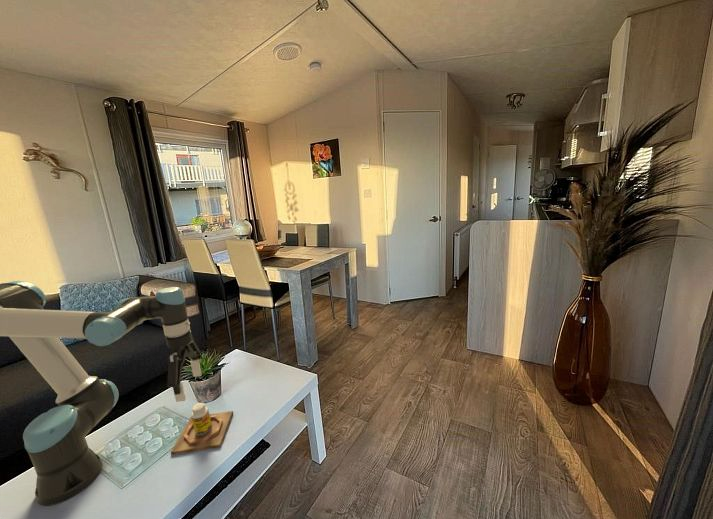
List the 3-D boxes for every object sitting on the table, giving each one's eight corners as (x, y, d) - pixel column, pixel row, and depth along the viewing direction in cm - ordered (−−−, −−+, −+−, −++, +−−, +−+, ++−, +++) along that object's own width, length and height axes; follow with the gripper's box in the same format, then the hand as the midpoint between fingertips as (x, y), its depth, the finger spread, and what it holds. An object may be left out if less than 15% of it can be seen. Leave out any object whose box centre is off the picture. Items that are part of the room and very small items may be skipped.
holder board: (171, 455, 100) (169, 449, 99) (191, 419, 115) (189, 415, 115) (220, 447, 102) (219, 442, 101) (233, 413, 117) (232, 408, 117)
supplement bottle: (196, 438, 104) (190, 414, 102) (194, 429, 109) (188, 405, 107) (213, 431, 107) (207, 407, 105) (211, 421, 112) (205, 398, 109)
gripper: (171, 350, 88) (185, 411, 93) (203, 316, 112) (213, 365, 117) (144, 353, 87) (159, 414, 92) (183, 318, 111) (193, 368, 116)
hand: (189, 387), depth 104 cm, fingers open, 13 cm apart
